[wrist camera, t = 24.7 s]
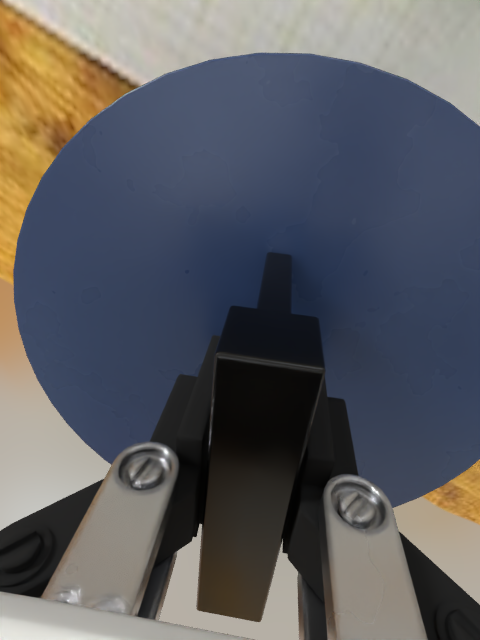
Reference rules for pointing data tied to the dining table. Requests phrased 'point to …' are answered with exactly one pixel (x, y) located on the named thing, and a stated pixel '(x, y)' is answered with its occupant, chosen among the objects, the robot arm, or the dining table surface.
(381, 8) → the dining table surface
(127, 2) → the dining table surface
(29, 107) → the dining table surface
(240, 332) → the lid
